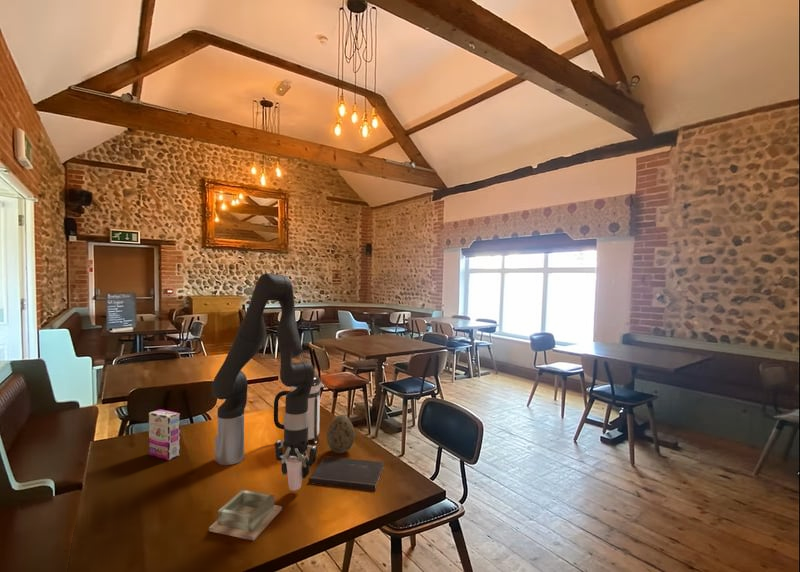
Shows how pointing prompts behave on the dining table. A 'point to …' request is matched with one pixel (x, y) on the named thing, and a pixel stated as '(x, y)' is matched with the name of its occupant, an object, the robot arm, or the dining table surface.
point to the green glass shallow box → (246, 515)
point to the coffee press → (312, 408)
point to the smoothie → (294, 472)
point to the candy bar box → (164, 434)
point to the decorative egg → (340, 434)
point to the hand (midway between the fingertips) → (295, 475)
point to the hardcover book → (347, 473)
